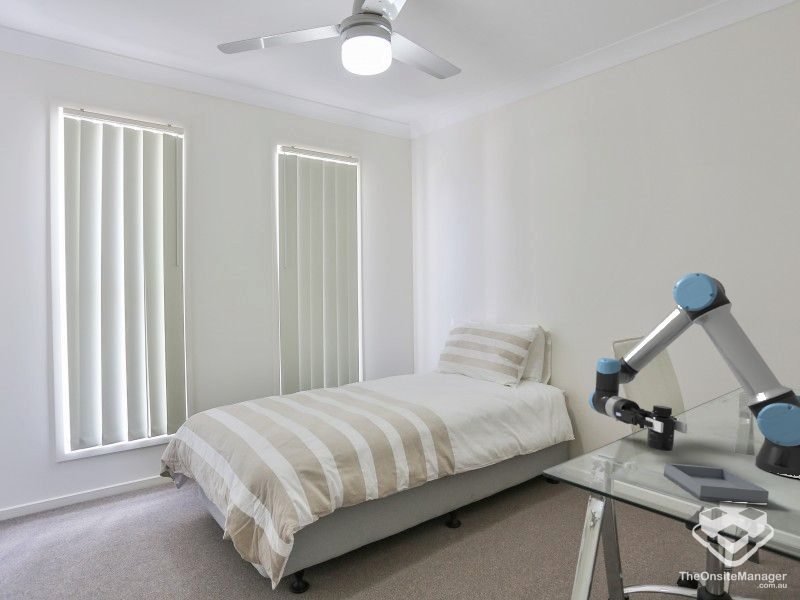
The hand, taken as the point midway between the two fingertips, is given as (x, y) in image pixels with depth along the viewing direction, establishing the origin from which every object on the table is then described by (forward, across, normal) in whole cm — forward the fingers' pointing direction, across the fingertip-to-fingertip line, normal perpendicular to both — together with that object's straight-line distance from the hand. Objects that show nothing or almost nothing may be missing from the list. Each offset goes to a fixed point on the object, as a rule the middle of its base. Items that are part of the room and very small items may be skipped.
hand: (673, 428), depth 136 cm
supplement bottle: (-5, 0, -7) cm, 9 cm away
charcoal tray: (+14, -1, -12) cm, 18 cm away
